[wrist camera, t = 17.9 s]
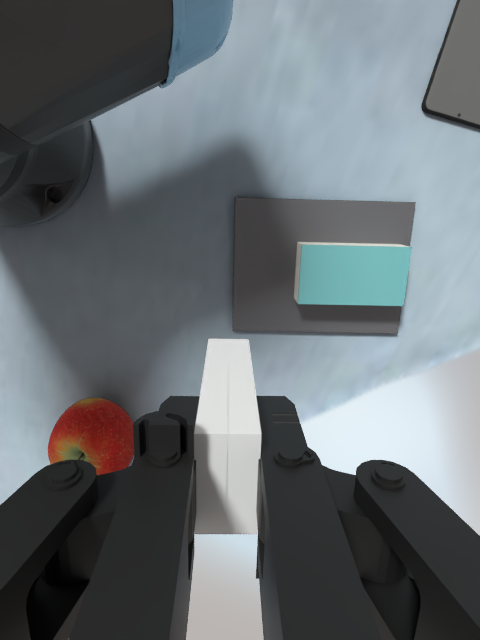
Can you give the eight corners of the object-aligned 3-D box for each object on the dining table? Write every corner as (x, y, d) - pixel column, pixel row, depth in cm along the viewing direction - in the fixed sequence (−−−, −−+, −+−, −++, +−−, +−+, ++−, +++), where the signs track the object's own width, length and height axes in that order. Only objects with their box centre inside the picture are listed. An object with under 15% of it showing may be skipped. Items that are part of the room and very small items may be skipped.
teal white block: (298, 304, 39) (403, 306, 39) (301, 244, 37) (411, 247, 38) (293, 297, 42) (392, 299, 42) (297, 241, 40) (399, 244, 40)
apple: (123, 462, 47) (96, 529, 37) (57, 429, 46) (11, 491, 36) (157, 406, 45) (138, 462, 36) (89, 371, 44) (50, 419, 34)
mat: (232, 328, 43) (232, 330, 42) (235, 197, 39) (235, 197, 39) (395, 331, 43) (397, 333, 43) (412, 202, 40) (415, 202, 39)
